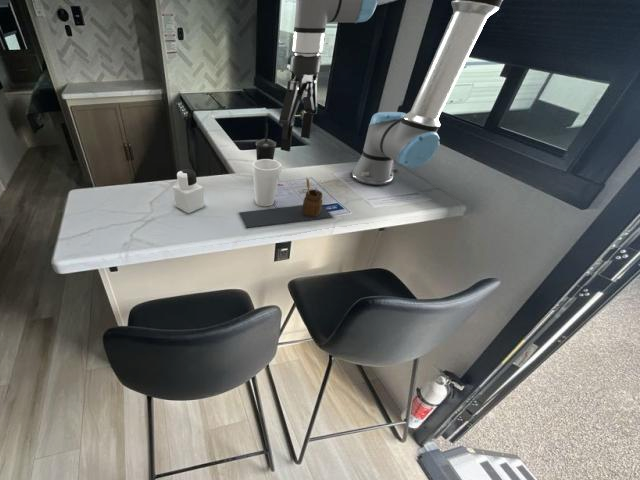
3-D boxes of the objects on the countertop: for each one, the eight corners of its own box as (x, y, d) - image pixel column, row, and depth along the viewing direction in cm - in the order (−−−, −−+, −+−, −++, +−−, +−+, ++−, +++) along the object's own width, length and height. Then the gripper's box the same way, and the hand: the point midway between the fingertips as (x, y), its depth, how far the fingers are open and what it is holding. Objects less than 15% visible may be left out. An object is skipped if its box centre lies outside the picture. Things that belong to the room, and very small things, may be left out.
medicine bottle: (191, 199, 114) (188, 165, 106) (204, 206, 110) (202, 171, 102) (175, 206, 110) (170, 171, 102) (188, 214, 107) (184, 178, 98)
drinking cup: (274, 184, 124) (278, 127, 110) (254, 184, 124) (256, 127, 110) (272, 176, 129) (277, 120, 115) (253, 175, 129) (255, 120, 115)
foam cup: (276, 209, 109) (279, 171, 100) (249, 207, 110) (250, 168, 101) (279, 197, 116) (282, 160, 107) (253, 194, 117) (255, 158, 108)
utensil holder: (323, 216, 105) (330, 180, 97) (305, 218, 104) (311, 182, 96) (315, 207, 109) (321, 172, 101) (298, 210, 108) (303, 174, 100)
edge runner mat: (320, 204, 112) (320, 203, 112) (332, 217, 105) (332, 216, 105) (239, 213, 107) (239, 212, 107) (246, 228, 100) (246, 227, 100)
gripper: (312, 48, 90) (301, 130, 104) (269, 58, 75) (263, 153, 89) (338, 50, 87) (323, 134, 102) (298, 61, 72) (288, 159, 86)
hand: (295, 143), depth 95 cm, fingers open, 13 cm apart
